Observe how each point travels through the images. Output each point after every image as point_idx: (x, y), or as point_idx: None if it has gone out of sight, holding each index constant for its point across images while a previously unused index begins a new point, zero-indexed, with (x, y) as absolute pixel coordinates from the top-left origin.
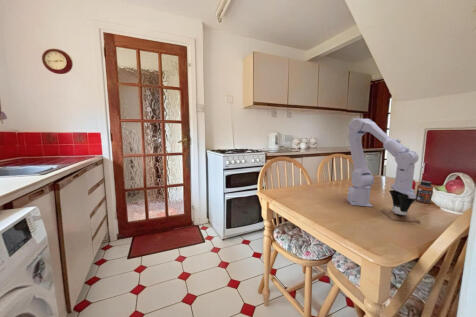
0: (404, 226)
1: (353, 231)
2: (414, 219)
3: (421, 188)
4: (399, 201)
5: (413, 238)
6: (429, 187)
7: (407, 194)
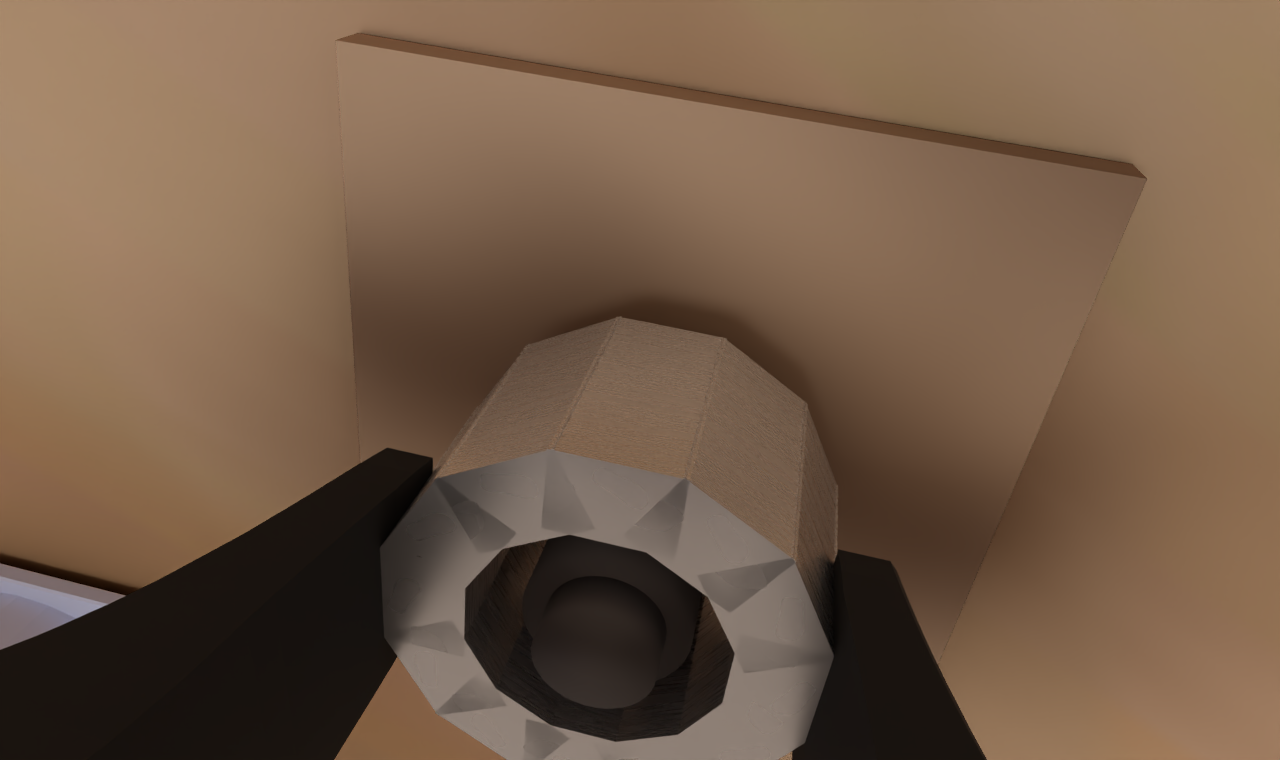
0: (1262, 709)
1: None
2: (969, 246)
3: None
4: (307, 622)
5: None
6: None
7: None
